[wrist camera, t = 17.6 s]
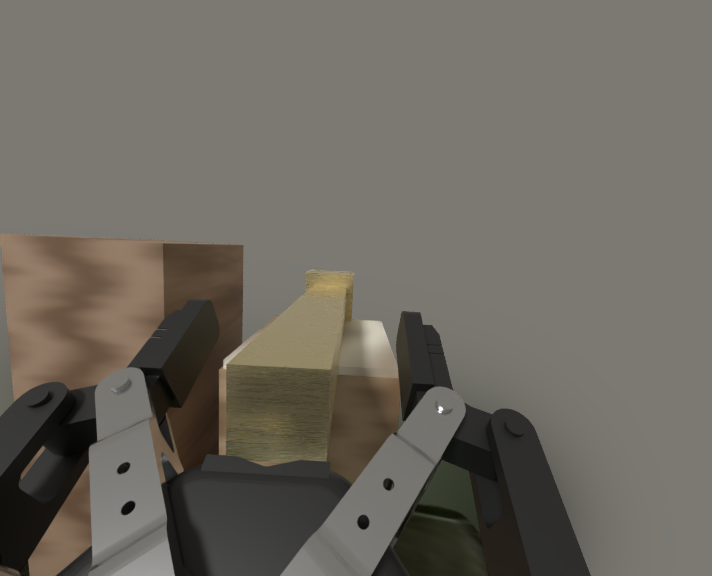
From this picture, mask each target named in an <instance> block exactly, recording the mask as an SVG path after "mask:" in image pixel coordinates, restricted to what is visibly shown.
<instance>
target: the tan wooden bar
mask: <svg viewBox="0 0 712 576" xmlns="http://www.w3.org/2000/svg"><path fill="white" fill-rule="evenodd" d="M353 282H354V272H344V271H326V270H310V271H308V272H306V291H305V293H304V294H303V295H302V296H301V297H300V298H299V299H298V300H296V301H295V302H294V303H293V304H292V305H291V306H290V307H289V308H287V309H286V310H285V311H284V312H283V313H282V314H281V315H280V316H279V317H278V318H276V319H275V320H274V321H273V322H272V323H271V324H270V325H269V326H268V327H267V328H265V329H264V330H263V331H262V332H261V333H260V334H259V335H258V336H257V337H256V338H254V339H253V340H252V341H251V342H250V343H249V344H248V345H247V346H246V347H245V348H243V349H242V350H241V351H240V352H239V353H238V354H237V355H236V356H235V357H234V358H232V359H231V360H230V361H229V362H228V363H227V364H226V455H228V456H238V457H241V458H244V459H246V460H249V461H254V462H274V463H287V462H292V461H297V460H310V461H326V462H327V454H328V446H329V439H330V431H331V423H332V415H333V408H334V400H335V392H336V384H337V377H338V369H339V361H340V354H341V346H342V338H343V330H344V323H345V321H348V322H351V316H352V300H353Z"/></svg>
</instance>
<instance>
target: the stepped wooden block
mask: <svg viewBox="0 0 712 576" xmlns="http://www.w3.org/2000/svg"><path fill="white" fill-rule="evenodd" d="M0 244H1V255H2V266H3V277H4V289H5V300H6V311H7V323H8V335H9V345H10V358H11V369H12V380H13V392H14V402H15V401H16V400H17V399H18V398H19V397H20V396H21V395H22V394H24V393H25V392H27V391H28V390H30V389H32V388H34V387H36V386H38V385H41V384H44V383H49V382H61V383H63V384H65V385H66V387H67V388H68V389H69V390H74V389H79V388H84V387H89V386H94V385H98V384H99V383H100V382H101V381H102V380H103V379H104V378H105V377H106V376H108V375H109V374H111V373H113V372H115V371H117V370H120V369H123V368H127V366H128V365H129V364H130V363H131V361H132V360H133V359H134V357H135V356H136V355H137V353H138V352H139V351H140V350H141V348H142V347H143V346H144V344H145V343H146V342H147V341H148V339H149V338H151V335H152V334H153V333H154V332H155V330H157V328H158V326H159V325H160V324H161V322H162V321H163V320H164V319H165V318H166V317H167V316H169V315H170V314H171V313H173V312H174V311H176V310H182V308H183V307H184V305H185V304H186V303H187V301H188V300H189V299H192V298H193V299H208V300H211V301H212V303H213V306H214V309H215V313H216V316H217V320H218V323H219V327H220V333H219V337H218V340H217V342H216V344H215V346H214V348H213V350H212V352H211V353H210V355H209V357H208V359H207V361H206V363H205V365H204V367H203V369H202V370H201V372H200V374H199V376H198V378H197V380H196V382H195V384H194V385H193V387H192V389H191V391H190V393H189V395H188V397H187V399H186V401H185V402H184V404H183V406H182V408H172V407H169V409H168V411H167V415H168V417H169V421H170V425H171V429H172V433H173V437H174V441H175V445H176V449H177V453H178V457H179V460H180V463H181V465H182V467H183V470H184V471H185V470H187V469H189V468H192V467H194V466H197V465H201V464H203V462H204V460H205V457H206V455H207V454H212V455H226V364H227V363H228V362H229V361H230V360H231V359H232V358H234V357H235V356H236V355H237V354H238V353H239V352H240V351H241V350H242V349H243V348H245V347H246V346H247V345H248V344H249V343H250V342H251V341H252V340H253V339H254V338H256V337H257V336H258V335H259V334H260V333H261V332H262V331H263V330H264V329H265V328H267V327H268V326H269V325H270V324H271V323H272V322H273V321H274V320H275V319H276V318H278V317H279V316H280V315H275V316H274V317H273V318H272V319H271V320H270V321H268V322H267V323H266V324H265V325H264V326H263V327H261V328H260V329H259V330H258V331H257V332H256V333H254V334H253V335H252V336H251V337H250V338H249V339H248V340H246V341H245V342H244V343H243V344H242V312H243V309H242V308H243V245H231V244H215V243H198V242H180V241H164V240H147V239H122V238H121V239H120V238H97V237H72V236H48V235H47V236H46V235H22V234H0ZM399 405H400V385H399V374H398V366H397V363H396V360H395V358H394V355H393V352H392V349H391V347H390V344H389V341H388V338H387V336H386V333H385V330H384V327H383V325H382V322H381V321H368V320H351V322H348V321H345V323H344V330H343V338H342V346H341V354H340V361H339V369H338V377H337V384H336V392H335V400H334V408H333V415H332V423H331V431H330V439H329V446H328V454H327V462H330V471H333V472H335V473H337V474H339V475H341V476H343V477H344V478H346V479H347V480H348V481H350V482H351V483H352V484H353V483H354V482H355V481H356V480H357V478H358V477H359V476H360V474H361V473H362V472H363V470H364V469H365V468H366V466H367V465H368V464H369V462H370V461H371V460H372V458H373V457H374V456H375V454H376V453H377V452H378V450H379V449H380V448H381V446H382V445H383V444H384V442H385V441H386V440H387V438H388V437H389V436H390V435H391V434H392V433H396V432H397V430H398V418H399ZM44 449H45V447H44V446H42V447H41V449H40V450H39V451H38V452H37V454H36V455H35V456H34V458H33V459H32V460H31V462H30V463H29V464H28V465H27V467H26V468H25V469H24V471H23V472H22V474H21V480H22V478H23V477H24V476H25V474H26V473H27V472H28V470H29V469H30V468H31V467H32V465H33V464H34V463H35V461H36V460H37V459H38V457H39V456H40V455H41V453H42V452H43V451H44ZM252 462H254V461H252ZM254 463H257V464H260V465H262V466H273V465H278V464H282V463H274V462H254ZM91 545H92V530H91V502H90V473H89V464H88V465H87V467H86V468H85V470H84V472H83V473H82V475H81V476H80V478H79V480H78V481H77V483H76V484H75V486H74V488H73V489H72V491H71V492H70V494H69V496H68V497H67V499H66V500H65V502H64V504H63V505H62V507H61V508H60V510H59V512H58V513H57V515H56V516H55V518H54V520H53V521H52V523H51V524H50V526H49V528H48V529H47V531H46V532H45V534H44V536H43V537H42V539H41V540H40V542H39V544H38V545H37V547H36V548H35V550H34V552H33V553H32V555H31V556H30V558H29V560H28V563H29V574H30V576H56V575H57V574H58V573H60V572H61V571H62V570H63V569H64V568H66V567H67V566H68V565H69V564H70V563H71V562H73V561H74V560H75V559H76V558H77V557H78V556H80V555H81V554H82V553H83V552H84V551H86V550H87V549H88V548H89V547H90V546H91Z"/></svg>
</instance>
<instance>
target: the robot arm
mask: <svg viewBox="0 0 712 576" xmlns="http://www.w3.org/2000/svg"><path fill="white" fill-rule="evenodd" d="M219 333H220V327H219V323H218V320H217V316H216V313H215V309H214V306H213V303H212V301H211V300H208V299H193V298H192V299H189V300H188V301H187V303H186V304H185V305H184V307H183V308H182V310H176V311H174V312H173V313H171V314H170V315H169V316H167V317H166V318H165V319H164V320H163V321H162V322H161V324H160V325H159V326H158V328H157V330H155V332H154V333H153V334H152V335H151V338H149V339H148V341H147V342H146V343H145V344H144V346H143V347H142V348H141V350H140V351H139V352H138V353H137V355H136V356H135V357H134V359H133V360H132V361H131V363H130V364H129V365H128V366H127V368H123V369H120V370H117V371H115V372H113V373H111V374H109V375H108V376H106V377H105V378H104V379H103V380H102V381H101V382H100V383H99V384H98V385H94V386H89V387H84V388H79V389H74V390H69V389H68V388H67V387H66V385H65V384H63V383H61V382H49V383H44V384H41V385H38V386H36V387H34V388H32V389H30V390H28V391H27V392H25V393H24V394H22V395H21V396H20V397H19V398H18V399H17V400H16V401H15V402H14V403H13V404H12V405H11V406H10V407H9V408H8V409H7V410H6V411H5V412H4V413H3V414H2V415H1V417H0V576H21V575H20V572H21V571H22V569H23V568H24V566H25V564H26V563H27V561H28V560H29V558H30V556H31V555H32V553H33V552H34V550H35V548H36V547H37V545H38V544H39V542H40V540H41V539H42V537H43V536H44V534H45V532H46V531H47V529H48V528H49V526H50V524H51V523H52V521H53V520H54V518H55V516H56V515H57V513H58V512H59V510H60V508H61V507H62V505H63V504H64V502H65V500H66V499H67V497H68V496H69V494H70V492H71V491H72V489H73V488H74V486H75V484H76V483H77V481H78V480H79V478H80V476H81V475H82V473H83V472H84V470H85V468H86V467H87V465H88V464H89V473H90V502H91V530H92V545H91V546H90V547H89V548H88V549H87V550H86V551H84V552H83V553H82V554H81V555H80V556H78V557H77V558H76V559H75V560H74V561H73V562H71V563H70V564H69V565H68V566H67V567H66V568H64V569H63V570H62V571H61V572H60V573H58V574H57V575H56V576H409V574H408V572H407V571H406V569H405V567H404V566H403V564H402V562H401V561H400V559H399V557H398V556H397V554H396V552H395V551H394V549H393V548H394V546H395V544H396V542H397V541H398V539H399V537H400V535H401V533H402V532H403V530H404V528H405V526H406V525H407V523H408V521H409V519H410V518H411V516H412V514H413V512H414V510H415V508H416V506H417V504H418V503H419V501H420V499H421V497H422V495H423V493H424V492H425V490H426V488H427V487H428V485H429V483H430V481H431V480H432V478H433V476H434V474H435V472H436V471H437V469H438V467H439V466H440V464H441V462H442V460H444V461H447V462H449V463H452V464H454V465H456V466H459V467H461V468H463V469H466V470H468V471H469V473H470V479H471V484H472V490H473V495H474V500H475V506H476V511H477V517H478V522H479V528H480V533H481V539H482V544H483V550H484V555H485V561H486V566H487V572H488V576H591V575H590V573H589V570H588V567H587V565H586V562H585V560H584V557H583V554H582V552H581V549H580V546H579V544H578V541H577V539H576V536H575V533H574V531H573V528H572V526H571V523H570V520H569V518H568V515H567V512H566V510H565V507H564V504H563V502H562V499H561V496H560V494H559V491H558V489H557V486H556V483H555V481H554V478H553V475H552V473H551V470H550V467H549V465H548V462H547V460H546V457H545V454H544V452H543V449H542V446H541V444H540V441H539V438H538V436H537V433H536V431H535V429H534V427H533V425H532V424H531V422H530V421H529V420H528V419H527V418H526V417H524V416H523V415H522V414H520V413H519V412H516V411H514V410H511V409H499V410H497V411H495V412H494V413H493V415H492V414H490V413H487V412H484V411H481V410H478V409H476V408H473V407H471V406H469V405H467V404H466V403H464V401H463V400H462V398H461V397H460V396H459V395H458V394H457V393H456V392H454V390H453V388H452V384H451V381H450V376H449V372H448V368H447V364H446V360H445V356H444V352H443V348H442V344H441V340H440V336H439V334H438V333H437V331H436V330H435V329H434V327H433V326H432V325H423V324H422V318H421V314H420V312H407V311H402V313H401V318H400V323H399V329H398V334H397V341H396V352H397V363H398V374H399V385H400V396H401V407H402V418H403V421H405V422H404V424H403V425H402V426H401V428H400V429H399V430H398V431H397V432H396V433H392V434H391V435H390V436H389V437H388V438H387V440H386V441H385V442H384V444H383V445H382V446H381V448H380V449H379V450H378V452H377V453H376V454H375V456H374V457H373V458H372V460H371V461H370V462H369V464H368V465H367V466H366V468H365V469H364V470H363V472H362V473H361V474H360V476H359V477H358V478H357V480H356V481H355V482H354V483H353V484H352V483H351V482H350V481H348V480H347V479H346V478H344V477H343V476H341V475H339V474H337V473H335V472H333V471H330V462H326V461H310V460H297V461H292V462H287V463H282V464H278V465H273V466H262V465H260V464H257V463H254V462H252V461H249V460H246V459H244V458H241V457H238V456H228V455H212V454H207V455H206V457H205V460H204V462H203V464H201V465H197V466H194V467H192V468H189V469H187V470H185V471H184V470H183V467H182V465H181V463H180V460H179V457H178V453H177V449H176V445H175V441H174V437H173V433H172V429H171V425H170V421H169V417H168V415H167V411H168V409H169V407H172V408H182V406H183V404H184V402H185V401H186V399H187V397H188V395H189V393H190V391H191V389H192V387H193V385H194V384H195V382H196V380H197V378H198V376H199V374H200V372H201V370H202V369H203V367H204V365H205V363H206V361H207V359H208V357H209V355H210V353H211V352H212V350H213V348H214V346H215V344H216V342H217V340H218V337H219ZM42 446H44V447H45V449H44V451H43V452H42V453H41V455H40V456H39V457H38V459H37V460H36V461H35V463H34V464H33V465H32V467H31V468H30V469H29V470H28V472H27V473H26V474H25V476H24V477H23V478H22V480H21V481H20V482H19V479H20V476H21V474H22V472H23V471H24V469H25V468H26V467H27V465H28V464H29V463H30V462H31V460H32V459H33V458H34V456H35V455H36V454H37V452H38V451H39V450H40V449H41V447H42Z"/></svg>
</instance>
